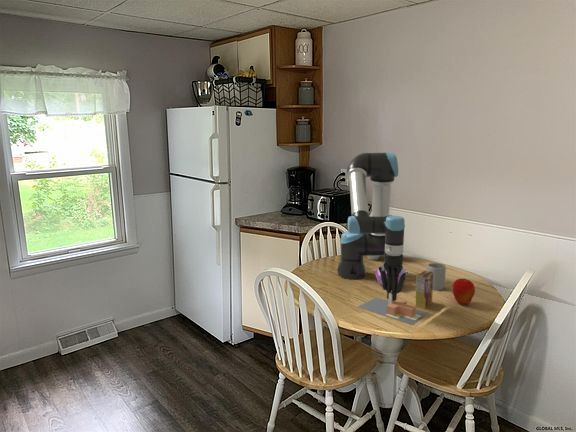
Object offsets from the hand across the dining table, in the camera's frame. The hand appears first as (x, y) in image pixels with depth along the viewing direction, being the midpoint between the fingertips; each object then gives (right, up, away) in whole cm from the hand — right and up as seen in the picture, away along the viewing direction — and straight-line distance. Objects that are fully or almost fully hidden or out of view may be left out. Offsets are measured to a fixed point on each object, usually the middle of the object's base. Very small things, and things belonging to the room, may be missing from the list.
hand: (391, 306), depth 189 cm
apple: (+34, 0, +9) cm, 35 cm away
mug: (+28, +4, +30) cm, 41 cm away
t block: (+4, -2, -3) cm, 6 cm away
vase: (+7, +13, +75) cm, 77 cm away
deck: (+1, -2, 0) cm, 2 cm away
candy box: (+15, -1, +5) cm, 16 cm away
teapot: (+6, +4, +30) cm, 31 cm away
